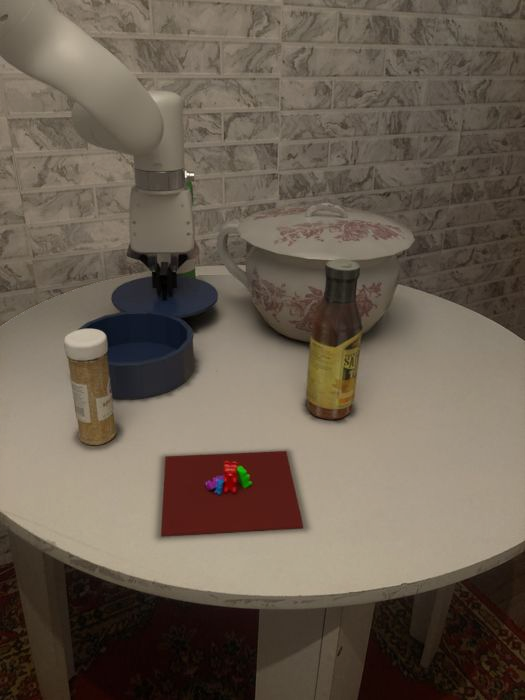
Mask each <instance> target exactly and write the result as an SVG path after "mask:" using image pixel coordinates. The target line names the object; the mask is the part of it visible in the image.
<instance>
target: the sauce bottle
mask: <svg viewBox="0 0 525 700" xmlns="http://www.w3.org/2000/svg"><path fill="white" fill-rule="evenodd" d="M325 275H326V285H325V292H324V298H325V299H324V300H323V301H322V303H321V304H320V305H319V306H318V307H317V309H316V311H315V313H314V317H313V327H312V333H311V339H310V342H309V352H308V365H307V367H308V368H307V379H306V391H305V392H306V393H305V396H306V402H305V403H306V407H307V410H308V411H309V413H311V414H312V415H314V416H315V417H317V418H321V419H326V420H339V419H342V418H344V417H346V416H348V415H349V414H350V412H352V408H353V403H354V401H355V395H356V394H355V393H356V386H357V378H358V369H359V361H360V355H361V344H362V336H363V334H362V328H363V327H362V323H361V320H360V316H359V312H358V308H357V304H356V287H357V279H358V278H359V275H360V265H359V264H357V263H356V262H353V261H350V260H342V259H339V260H331V261H328V262H327V263H326V266H325Z"/></svg>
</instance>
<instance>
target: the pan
mask: <svg viewBox="0 0 525 700" xmlns="http://www.w3.org/2000/svg"><path fill="white" fill-rule="evenodd" d="M80 329H97V330H100V331H102V332H104V333H105V334H106V337H107V344H108V351H107V361H108V368H109V376H110V383H111V391H112V400H113V399H114V400H141V399H149V398H152V397H156V396H161V395H164V394H167V393H169V392H172V391H174V390H175V389H178V388H179V387H180V386H182V385H184V384H185V383H186V382H187V381H188V380H189V379H190V377H191V376H192V374H193V372H194V369H195V366H194V363H195V362H194V361H195V360H194V331H193V328H192V327H191V326H190V325H189V324H188V323H187V322H186V321H185V320H184V319H182V318H177V317H175V316H172V315H170V314H166V313H159V312H153V311H126V312H121V311H120V312H116V313H111V314H106V315H103V316H100V317H97V318H95V319H92V320H89V321H87V322H85V323H84V324H83V325H82V326H80V327H79V328H78V329H77V330H80Z"/></svg>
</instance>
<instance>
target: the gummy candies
mask: <svg viewBox="0 0 525 700" xmlns="http://www.w3.org/2000/svg"><path fill="white" fill-rule="evenodd" d="M237 465H238V464H237V462H236V461H233V462H232V463H231V464H230V462H229V461H225V462H224V475H222V476H216V477H215V478H213V481H212V482H211V481H210V480H209V481H208V482H205V485H206V488H207V490H208V491H209V490H212V489H214V488H216V490H215V493H218V495H219V494H221V493H222V489H223V484H224V490H223V491H224V493H227V492H228V491H232V493H236V491H237V476H238V478H239V481H240V484H241V485H242V486H243V488H247V487H248V486H250V485H251V484H252V482H251V481H248V480H249V477H250V475H249V474H247V475H246V472H247V471H246V470H245V469H243V467H242V466H238V467H237Z"/></svg>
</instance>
